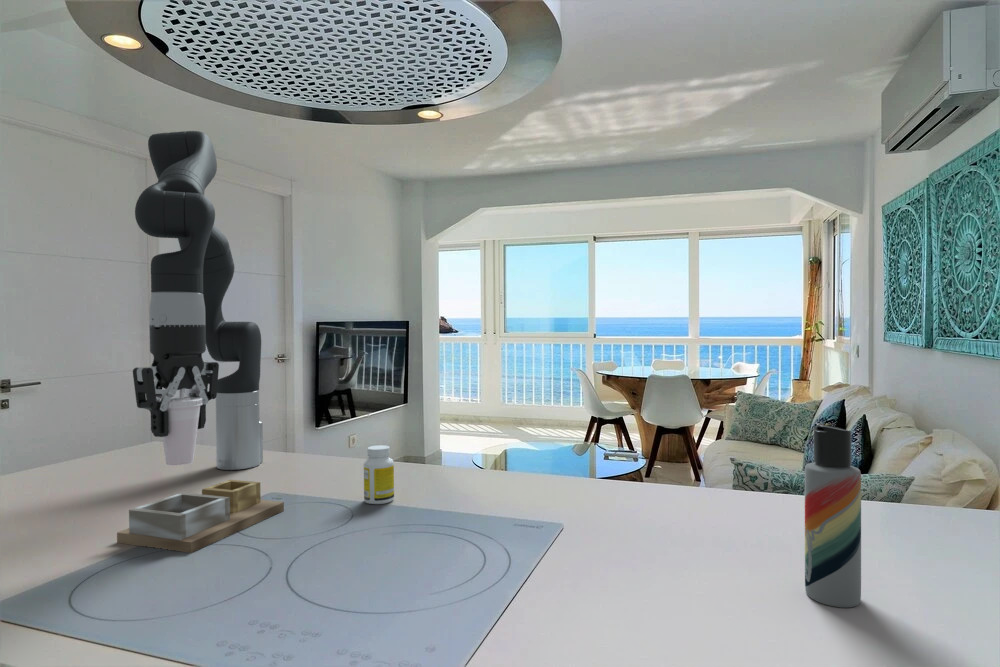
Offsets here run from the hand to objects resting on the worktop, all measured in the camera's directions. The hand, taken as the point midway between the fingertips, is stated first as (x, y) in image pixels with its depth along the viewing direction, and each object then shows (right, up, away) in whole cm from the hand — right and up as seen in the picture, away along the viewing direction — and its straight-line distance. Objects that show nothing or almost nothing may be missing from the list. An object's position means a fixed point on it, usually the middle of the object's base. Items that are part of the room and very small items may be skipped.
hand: (179, 431), depth 91 cm
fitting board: (+2, -16, +5) cm, 17 cm away
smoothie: (0, -5, 0) cm, 5 cm away
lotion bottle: (+88, -16, -22) cm, 92 cm away
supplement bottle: (+27, -16, +18) cm, 36 cm away
